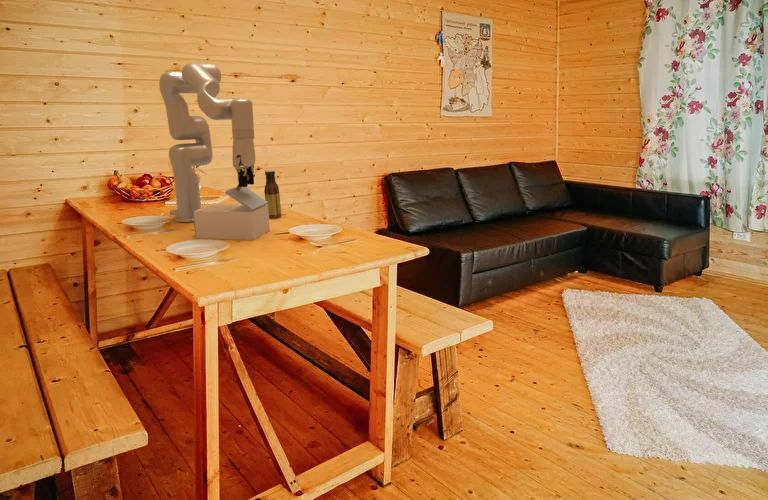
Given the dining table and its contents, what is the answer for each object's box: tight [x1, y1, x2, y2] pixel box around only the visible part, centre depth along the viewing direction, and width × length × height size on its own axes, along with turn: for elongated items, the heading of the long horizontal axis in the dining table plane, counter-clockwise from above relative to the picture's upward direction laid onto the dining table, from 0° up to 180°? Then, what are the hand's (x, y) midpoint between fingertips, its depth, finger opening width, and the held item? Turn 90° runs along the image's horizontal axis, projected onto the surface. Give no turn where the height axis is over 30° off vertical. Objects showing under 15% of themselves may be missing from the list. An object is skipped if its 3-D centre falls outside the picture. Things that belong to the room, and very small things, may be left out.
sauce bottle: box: [263, 169, 282, 219], centre depth 241 cm, size 7×6×20 cm
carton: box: [193, 202, 271, 241], centre depth 212 cm, size 23×16×10 cm
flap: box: [224, 174, 268, 211], centre depth 208 cm, size 12×15×7 cm
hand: (246, 185), depth 208 cm, fingers closed on flap, 5 cm apart
